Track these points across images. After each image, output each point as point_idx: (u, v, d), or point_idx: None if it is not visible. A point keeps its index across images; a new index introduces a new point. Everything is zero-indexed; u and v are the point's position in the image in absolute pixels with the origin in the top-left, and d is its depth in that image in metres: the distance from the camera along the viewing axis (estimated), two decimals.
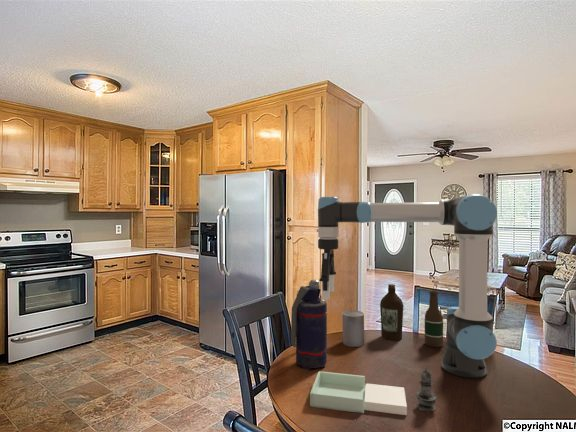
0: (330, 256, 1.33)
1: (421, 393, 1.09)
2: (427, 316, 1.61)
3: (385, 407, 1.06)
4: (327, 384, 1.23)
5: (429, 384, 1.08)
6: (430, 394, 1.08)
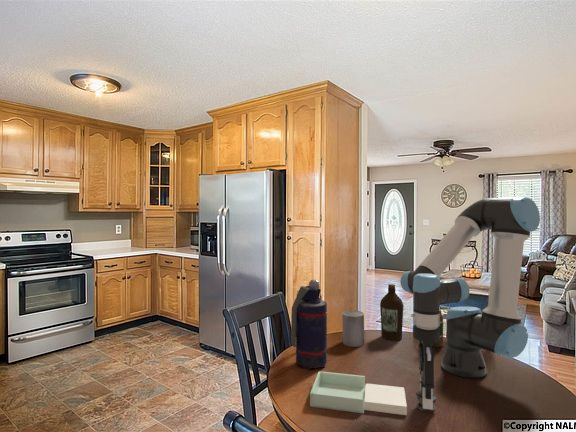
0: None
1: (421, 393, 1.09)
2: None
3: (385, 407, 1.06)
4: (327, 384, 1.23)
5: None
6: None
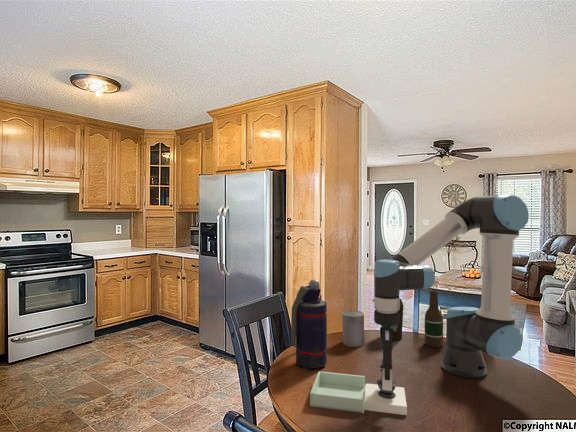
0: None
1: (381, 380, 1.11)
2: (427, 316, 1.61)
3: (385, 407, 1.06)
4: (327, 384, 1.23)
5: None
6: None
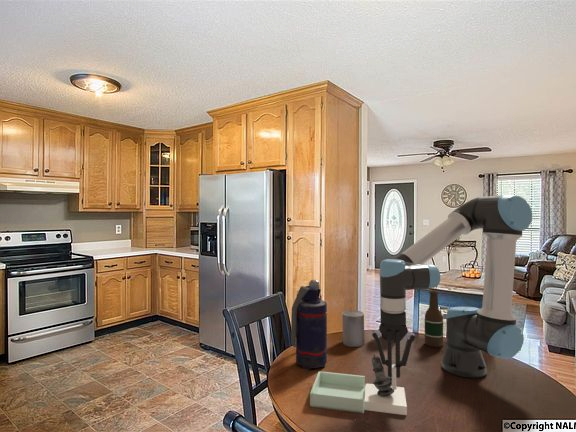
0: None
1: (376, 380, 1.12)
2: (427, 316, 1.61)
3: (385, 407, 1.06)
4: (327, 384, 1.23)
5: (380, 369, 1.11)
6: (384, 378, 1.11)
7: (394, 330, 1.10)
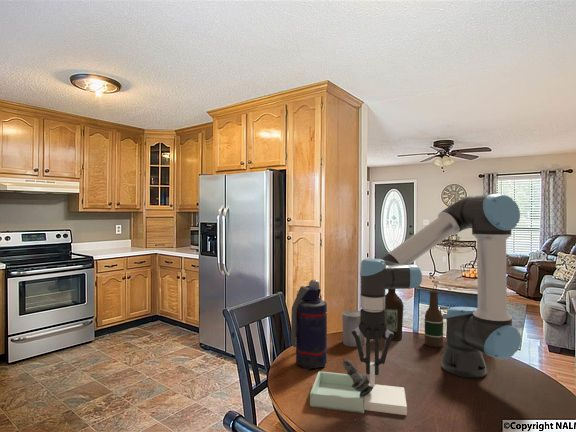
0: None
1: (353, 382, 1.14)
2: (427, 316, 1.61)
3: (385, 407, 1.06)
4: (327, 384, 1.23)
5: (353, 371, 1.13)
6: (359, 378, 1.13)
7: (373, 328, 1.12)
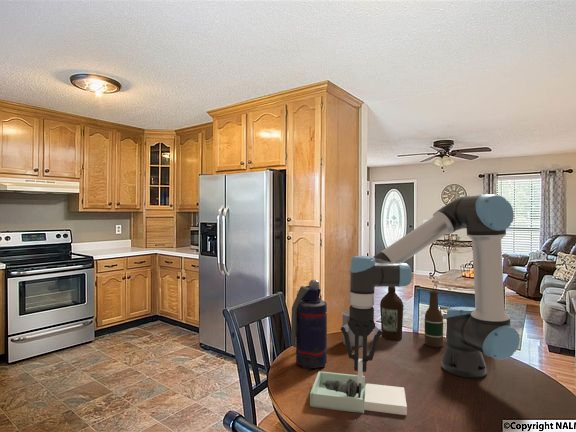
0: None
1: (345, 393, 1.14)
2: (427, 316, 1.61)
3: (385, 407, 1.06)
4: None
5: (336, 386, 1.14)
6: (345, 386, 1.13)
7: (362, 325, 1.12)
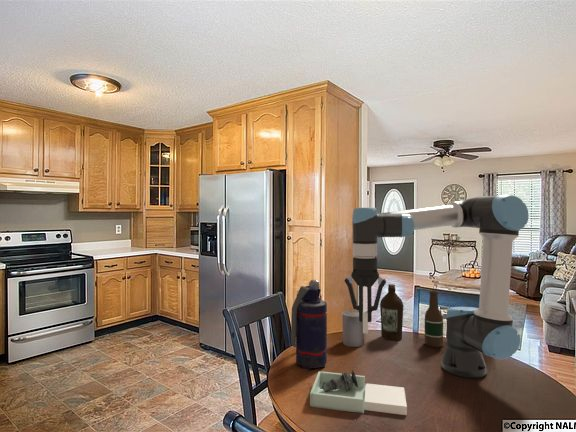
0: (359, 279, 1.13)
1: (342, 382, 1.17)
2: (427, 316, 1.61)
3: (385, 407, 1.06)
4: None
5: None
6: (340, 377, 1.19)
7: (365, 276, 1.12)
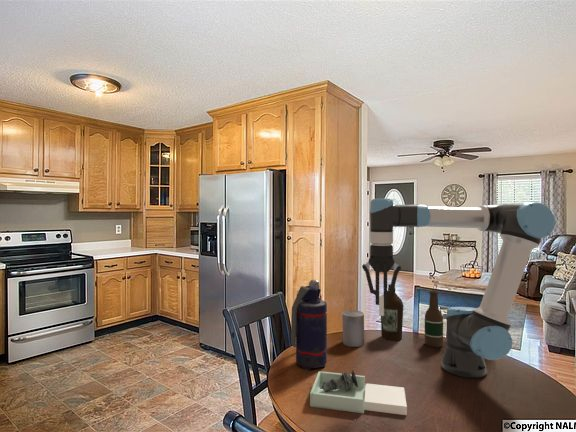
0: (375, 265, 1.21)
1: (342, 382, 1.17)
2: (427, 316, 1.61)
3: (385, 407, 1.06)
4: None
5: None
6: (340, 377, 1.19)
7: (382, 262, 1.21)
